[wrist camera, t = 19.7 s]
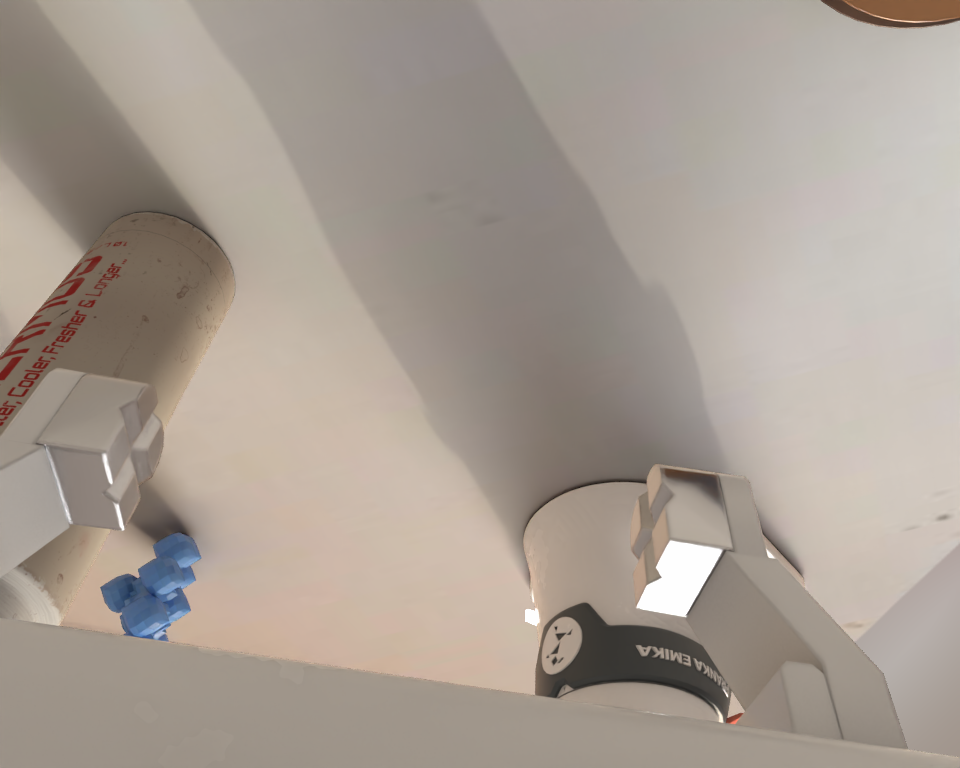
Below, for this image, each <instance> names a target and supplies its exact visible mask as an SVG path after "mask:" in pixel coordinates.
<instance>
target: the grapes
mask: <svg viewBox="0 0 960 768" xmlns="http://www.w3.org/2000/svg"><path fill="white" fill-rule="evenodd" d="M153 548H154V551H155V554H156V557H157V558H156V559H153V560H152V561H150V562H148V563H147V564H145V565H144V566H142V567H141V568H139V569H138V572H139V575H140V577H139V578H136V577H135V576H133V575H131V574H125V575H121V576H118V577H116V578H114V579H112V580H111V581H109V582H108V583H106V584H105V585H103V586H102V587H100V588H101V591H102V594H103V597H104V601H105V603H106V604H107V606H108V608H109V609H110V610H111V611H113V612H116V613H120V612H122V615H121V616H120V619H121V624H122V627H123V629H124V631H125V632H126V634H124V635H125V636H132V637H139V638H146V639H153V640H160V641H167V642H169V641H168V638H167V635H166V630H165V629H167V628H168V627H169V626H171V623H172V622H174V621H177V620H178V619H179V618H181V617H182V616H184V615H185V614H187V613H188V612H190V611H191V609H190V606H189V603H188V601H187V598H186V596H185V594H184V592H183V591H182V589H184V588H185V587H187V586H188V585H190V584H191V583H193V582H194V581H195V580H196V579H195V576H194V573H193V570H192V568H191V566H190V565H192V564H193V563H195V562H196V561H198V560H199V559H201V556H200V553H199V550H198V548H197V545H196V543H195V542H194V540H193V539H192V538H191V537H189V536H187V535H185V534H182V533H180V532H179V533H175V534H171V535H169V536H167V537H165V538H163V539H162V540H160V541H158V542H157V543H156V544H154V545H153Z"/></svg>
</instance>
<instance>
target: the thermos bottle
mask: <svg viewBox="0 0 960 768" xmlns="http://www.w3.org/2000/svg"><path fill="white" fill-rule="evenodd" d="M234 294H235V281H234V275H233V271H232V269H231V266H230V263H229V261H228V260H227V258H226V256H225V255H224V253H223V252H222V250H221V249H220V248H219V247H218V246H217V245H216V243H215V242H214V241H213V240H212V239H211V238H209V237H208V236H207V235H206V234H205V233H204V232H202V231H201V230H199V229H198V228H196V227H195V226H193V225H191V224H190V223H188V222H185V221H183V220H181V219H178V218H176V217H173V216H169V215H165V214H162V213H152V212H143V213H134V214H130V215H127V216H124V217H121V218H120V219H118V220H116V221H115V222H113V223H112V224H111V225H110V226H109V227H108V228H107V229H106V230H105V231H104V232H103V234H102V235H101V236H100V237H99V238H98V240H97V241H96V242H95V243H94V244H93V246H92V247H91V248H90V249H89V250H88V252H87V253H86V254H85V255H84V256H83V258H82V259H81V260H80V261H79V262H78V263H77V265H76V266H75V267H74V268H73V269H72V271H71V272H70V273H69V274H68V275H67V277H66V278H65V279H64V280H63V281H62V283H61V284H60V285H59V286H58V287H57V289H56V290H55V291H54V292H53V293H52V294H51V296H50V297H49V298H48V299H47V300H46V302H45V303H44V304H43V305H42V306H41V308H40V309H39V310H38V311H37V312H36V314H35V315H34V316H33V317H32V318H31V320H30V321H29V322H28V323H27V324H26V326H25V327H24V328H23V329H22V330H21V331H20V333H19V334H18V335H17V336H16V337H15V339H14V340H13V341H12V342H11V343H10V345H9V346H8V347H7V348H6V349H5V351H4V352H3V353H2V354H1V355H0V436H1V434H2V433H3V432H4V431H5V429H6V428H7V427H8V425H9V424H10V423H11V421H12V420H13V419H14V417H15V416H16V415H17V413H18V412H19V411H20V409H21V408H22V407H23V405H24V404H25V403H26V401H27V400H28V399H29V397H30V396H31V395H32V393H33V392H34V391H35V389H36V388H37V387H38V385H39V384H40V383H41V381H42V380H43V379H44V378H45V376H46V375H47V374H48V373H49V372H50V371H52V370H54V369H56V368H63V369H68V370H73V371H79V372H84V373H93V374H99V375H104V376H110V377H115V378H120V379H126V380H131V381H137V382H142V383H148V384H151V385H153V386H155V387H156V392H157V396H158V401H159V402H158V404H157V406H156V408H155V410H154V411H153V413H154V414H155V415H156V416H157V417H158V418H159V419H160V420H161V421H162V424H163V430H164V429H165V427H166V426H167V424H168V422H169V420H170V418H171V416H172V414H173V412H174V410H175V408H176V406H177V404H178V402H179V401H180V399H181V397H182V395H183V393H184V391H185V389H186V388H187V386H188V384H189V382H190V380H191V378H192V377H193V375H194V373H195V371H196V369H197V368H198V366H199V364H200V362H201V360H202V358H203V356H204V355H205V353H206V351H207V349H208V347H209V345H210V343H211V341H212V340H213V338H214V336H215V334H216V332H217V330H218V328H219V326H220V325H221V323H222V321H223V319H224V317H225V315H226V313H227V311H228V310H229V308H230V306H231V303H232V301H233V298H234ZM69 525H70V527H69V528H68V529H66V530H65V531H64V532H62V533H61V534H60V535H58V536H57V537H56V538H54V539H53V540H51V541H50V542H49V543H47V544H46V545H45V546H43V547H42V548H41V549H39V550H38V551H36V552H35V553H34V554H32V555H31V556H30V557H28V558H27V559H26V560H24V561H23V562H21V563H20V564H19V565H17V566H16V567H15V568H13V569H12V570H11V571H9V572H8V573H6V574H5V575H4V576H2V577H1V578H0V617H2V618H9V619H16V620H23V621H29V622H36V623H43V624H50V625H57V626H60V624H61V622H62V620H63V618H64V617H65V615H66V613H67V611H68V609H69V607H70V605H71V603H72V602H73V600H74V598H75V596H76V594H77V592H78V590H79V589H80V587H81V585H82V583H83V581H84V579H85V577H86V575H87V574H88V572H89V570H90V568H91V566H92V564H93V562H94V560H95V559H96V557H97V555H98V553H99V551H100V549H101V547H102V545H103V544H104V542H105V540H106V538H107V536H108V534H109V532H110V530H111V529H105V528H97V527H89V526H81V525H73V524H69Z"/></svg>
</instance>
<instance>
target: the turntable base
mask: <svg viewBox="0 0 960 768" xmlns="http://www.w3.org/2000/svg"><path fill="white" fill-rule="evenodd" d="M821 1H822V2H823V3H825V4H826V5H828V6H829V7H831V8H833V9H834V10H836V11H837V12H839V13H841V14H843V15H845V16H848V17H850V18H852V19H854V20H857V21H860V22H864V23H867V24H871V25H875V26H880V27H889V28H898V29H903V28H925V27H932V26H938V25H945V24H949V23H952V22H956V21H960V17H959V18H955V19H949V20H943V21H937V22H920V23H909V22H899V21H891V20H887V19H883V18H878V17H874V16H871V15H869V14H867V13H864V12H862V11H859V10H857V9H855V8H853V7H852V6H850V5H848V4H847V3H845V2H844V1H842V0H821Z"/></svg>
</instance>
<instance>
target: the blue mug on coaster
mask: <svg viewBox="0 0 960 768" xmlns="http://www.w3.org/2000/svg"><path fill="white" fill-rule="evenodd" d="M842 1H844V2H845V3H847V4H848V5H850V6H852V7H853V8H855V9H857V10H859V11H862V12H864V13H867V14H869V15H871V16H874V17H878V18H883V19H887V20H891V21H899V22H909V23H920V22H937V21H943V20H949V19H955V18H959V17H960V0H842Z"/></svg>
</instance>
